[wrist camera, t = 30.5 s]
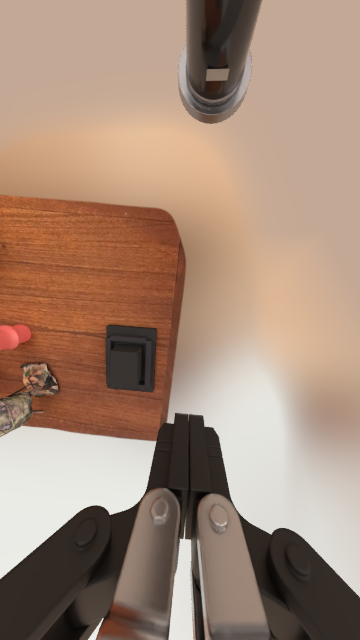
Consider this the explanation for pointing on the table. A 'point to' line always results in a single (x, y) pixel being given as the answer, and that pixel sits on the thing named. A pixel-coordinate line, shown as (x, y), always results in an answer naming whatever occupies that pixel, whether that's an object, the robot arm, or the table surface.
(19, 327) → the figurine
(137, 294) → the table surface
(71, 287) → the table surface
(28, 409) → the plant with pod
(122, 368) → the small black block
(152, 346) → the base pad
